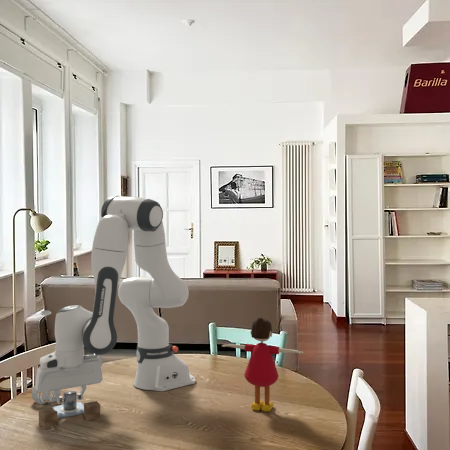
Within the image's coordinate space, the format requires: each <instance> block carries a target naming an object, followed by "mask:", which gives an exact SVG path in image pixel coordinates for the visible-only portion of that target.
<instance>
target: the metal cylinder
mask: <svg viewBox="0 0 450 450" xmlns="http://www.w3.org/2000/svg"><path fill="white" fill-rule="evenodd" d="M77 393H78V392H77V391H76V390H66V391H64V392H63V396H62V397H63V400H62V401H63V404H62V405H63V410H65V411H72V410H75V409H76V408H77V402H78V399H77Z"/></svg>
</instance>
